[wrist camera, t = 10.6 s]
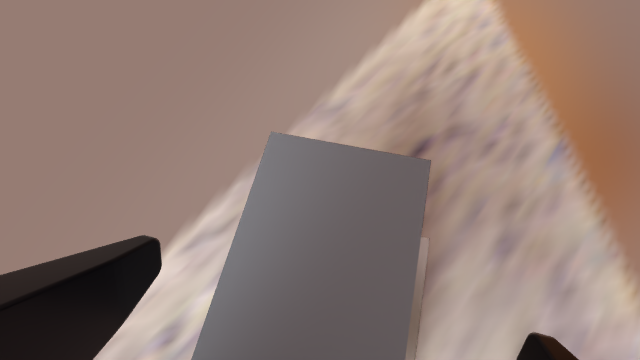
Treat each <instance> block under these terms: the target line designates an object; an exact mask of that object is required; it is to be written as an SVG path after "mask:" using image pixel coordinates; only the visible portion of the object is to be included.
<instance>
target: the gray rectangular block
mask: <svg viewBox="0 0 640 360" xmlns="http://www.w3.org/2000/svg"><path fill="white" fill-rule="evenodd" d="M430 165H431V160H426V159H420V158H414V157H409V156H403V155H398V154H392V153H387V152H381V151H376V150H370V149H365V148H359V147H354V146H348V145H342V144H337V143H331V142H326V141H320V140H315V139H309V138H304V137H298V136H293V135H287V134H282V133H275V132H271V134H270V136H269V139H268V142H267V145H266V148H265V151H264V153H263V156H262V159H261V162H260V165H259V168H258V171H257V173H256V176H255V179H254V182H253V185H252V188H251V191H250V193H249V196H248V199H247V202H246V205H245V208H244V210H243V213H242V216H241V219H240V222H239V225H238V228H237V230H236V233H235V236H234V239H233V242H232V245H231V248H230V250H229V253H228V256H227V259H226V262H225V265H224V268H223V270H222V273H221V276H220V279H219V282H218V285H217V288H216V290H215V293H214V296H213V299H212V302H211V305H210V308H209V310H208V313H207V316H206V319H205V322H204V325H203V328H202V330H201V333H200V336H199V339H198V342H197V345H196V348H195V350H194V353H193V356H192V359H191V360H405V357H406V349H407V341H408V334H409V326H410V318H411V311H412V303H413V295H414V287H415V280H416V272H417V264H418V257H419V249H420V241H421V234H422V226H423V218H424V211H425V203H426V195H427V188H428V180H429V172H430Z"/></svg>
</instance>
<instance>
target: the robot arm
mask: <svg viewBox="0 0 640 360" xmlns="http://www.w3.org/2000/svg"><path fill="white" fill-rule="evenodd" d="M161 266H162V261H161V248H160V242H159V240H158V239H157V238H153V237H149V236H145V235H142V236H138V237H134V238H131V239H127V240H124V241H120V242H116V243H113V244H109V245H106V246H102V247H99V248H95V249H92V250H88V251H84V252H81V253H77V254H74V255H70V256H67V257H63V258H60V259H56V260H53V261H49V262H46V263H42V264H38V265H35V266H31V267H28V268H24V269H21V270H17V271H13V272H10V273H7V274H3V275H0V360H93V359H94V358H95V356H96V355H97V354H98V353H99V352H100V351H101V349H102V348H103V347H104V346H105V345H106V344H107V342H108V341H109V340H110V339H111V338H112V337H113V335H114V334H115V333H116V332H117V331H118V329H119V328H120V327H121V326H122V324H123V323H124V322H125V320H126V319H127V318H128V317H129V315H130V314H131V312H132V311H133V309H134V308H135V307H136V305H137V304H138V302H139V301H140V300H141V298H142V297H143V295H144V294H145V293H146V291H147V290H148V288H149V287H150V286H151V284H152V283H153V281H154V280H155V279H156V277H157V276H158V274H159V272H160V270H161ZM517 360H578V359H577V358H576V357H575V356H574V355H573V354H572V353H571V352H569V351H568V350H567V349H566V348H565V347H564V346H563V345H562V344H560V343H559V342H558V341H557V340H556V339H555V338H553V337H551V336H547V335H543V334H539V333H530V334H529V335H528V337H527V338H526V340H525V342H524V345H523V347H522V349H521V351H520V353H519V355H518V357H517Z"/></svg>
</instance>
